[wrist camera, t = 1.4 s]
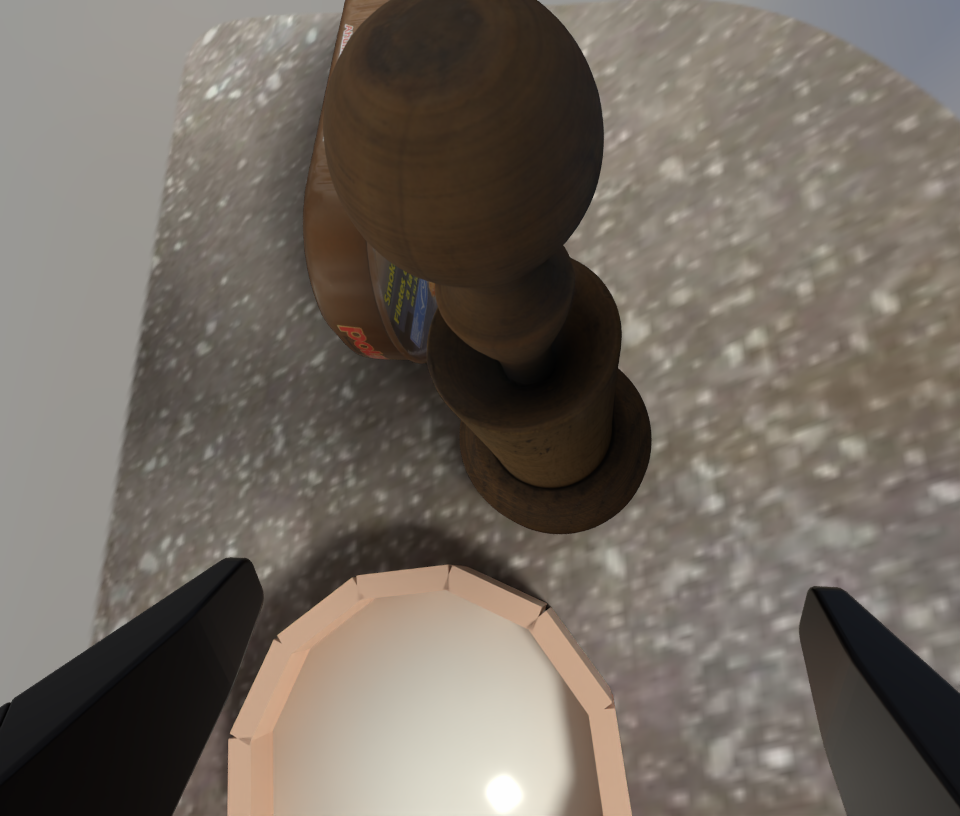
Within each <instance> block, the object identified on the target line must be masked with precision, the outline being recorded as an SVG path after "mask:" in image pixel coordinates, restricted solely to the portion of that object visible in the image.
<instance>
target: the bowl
mask: <svg viewBox="0 0 960 816" xmlns="http://www.w3.org/2000/svg"><path fill="white" fill-rule="evenodd" d="M546 606H547V603H545V602H543V601H541V600H538V599H536V598H534V597H532V596H530V595H528V594H526V593H523V592H521V591H519V590H517V589H515V588H513V587H510V586H508V585H506V584H504V583H502V582H500V581H497V580H495V579H493V578H491V577H489V576H487V575H485V574H482V573H480V572H478V571H476V570H474V569H472V568H469V567H467V566H462V565H440V566H432V567H423V568H415V569H407V570H398V571H390V572H382V573H373V574H365V575H357V577H352V578H351V579H349V580H348V581H347V582H345V583H344V584H343V585H342V586H340V587H339V588H338V589H336V590H335V591H334V592H333V593H331V594H330V595H329V596H327V597H326V598H325V599H323V600H322V601H321V602H320V603H318V604H317V605H316V606H314V607H313V608H312V609H311V610H309V611H308V612H307V613H305V614H304V615H303V616H301V617H300V618H299V619H298V620H296V621H295V622H294V623H292V624H291V625H290V626H289V627H287V628H286V629H285V630H283V631H282V632H281V633H279V634H278V635H277V636H278V639H274V640H273V642H272V645H271V647H270V649H269V651H268V653H267V655H266V657H265V659H264V662H263V664H262V666H261V668H260V670H259V672H258V674H257V676H256V679H255V681H254V683H253V685H252V687H251V689H250V691H249V694H248V696H247V698H246V700H245V702H244V704H243V706H242V708H241V711H240V713H239V715H238V717H237V719H236V721H235V723H234V725H233V728H232V730H231V732H230V734H232V735H233V736H234V737H232V738H230V739H228V816H632V813H631V806H630V800H629V793H628V787H627V781H626V774H625V768H624V762H623V755H622V749H621V743H620V736H619V730H618V724H617V717H616V711H615V705H614V698H613V694H611V689H610V687H609V686H608V684H607V683H606V682H605V680H604V679H603V678H602V676H601V675H600V673H599V672H598V671H597V669H596V668H595V666H594V665H593V664H592V662H591V661H590V660H589V658H588V657H587V655H586V654H585V653H584V651H583V650H582V649H581V647H580V646H579V644H578V643H577V642H576V640H575V639H574V638H573V636H572V635H571V633H570V632H569V631H568V629H567V628H566V627H565V625H564V624H563V622H562V621H561V620H560V618H559V617H558V616H557V614H556V613H555V611H554V610H553V609H552V607H550V608H549V609H548V610H545V608H546Z"/></svg>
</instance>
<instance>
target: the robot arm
mask: <svg viewBox="0 0 960 816" xmlns="http://www.w3.org/2000/svg"><path fill="white" fill-rule="evenodd" d="M263 600H264V594H263V589H262V586H261V584H260V581H259V579H258V576H257V574H256V571H255V568H254V566H253V564H252V562H251V561H250V560H249V559H247V558H233V557H229V558H225V559H223V560H221V561H220V562H218V563H217V564H215V565H213V566H212V567H210V568H209V569H207V570H206V571H204V572H203V573H201V574H200V575H198V576H197V577H195V578H194V579H192V580H191V581H189V582H188V583H186V584H185V585H183V586H182V587H180V588H179V589H177V590H176V591H174V592H173V593H171V594H170V595H168V596H167V597H165V598H164V599H162V600H161V601H159V602H158V603H156V604H155V605H153V606H152V607H150V608H149V609H147V610H146V611H144V612H143V613H141V614H140V615H138V616H137V617H135V618H134V619H132V620H131V621H129V622H128V623H126V624H125V625H123V626H122V627H120V628H119V629H117V630H116V631H114V632H113V633H111V634H110V635H108V636H107V637H105V638H104V639H102V640H101V641H99V642H98V643H96V644H95V645H93V646H92V647H90V648H89V649H87V650H86V651H84V652H83V653H81V654H80V655H78V656H77V657H75V658H74V659H72V660H71V661H69V662H68V663H66V664H65V665H63V666H62V667H60V668H59V669H57V670H56V671H54V672H53V673H51V674H50V675H48V676H47V677H45V678H44V679H42V680H41V681H39V682H38V683H36V684H35V685H33V686H32V687H30V688H29V689H27V690H26V691H24V692H23V693H21V694H20V695H18V696H17V697H15V698H14V699H13V700H12V702H11V703H10V702H9V703H6V704H4V705H3V706H1V707H0V816H172V815H173V813H174V811H175V809H176V807H177V805H178V803H179V801H180V798H181V796H182V794H183V792H184V790H185V788H186V786H187V784H188V781H189V779H190V777H191V775H192V773H193V771H194V769H195V767H196V765H197V762H198V760H199V758H200V756H201V754H202V752H203V750H204V748H205V746H206V743H207V741H208V739H209V737H210V735H211V733H212V731H213V729H214V726H215V724H216V722H217V720H218V718H219V716H220V714H221V712H222V710H223V707H224V705H225V703H226V701H227V699H228V696H229V694H230V692H231V690H232V687H233V685H234V682H235V680H236V677H237V675H238V672H239V669H240V666H241V664H242V661H243V658H244V655H245V653H246V650H247V647H248V644H249V641H250V639H251V636H252V633H253V630H254V627H255V625H256V622H257V619H258V616H259V614H260V611H261V608H262V605H263ZM799 635H800V642H801V646H802V651H803V656H804V660H805V665H806V669H807V674H808V678H809V683H810V687H811V692H812V696H813V701H814V705H815V710H816V714H817V719H818V724H819V728H820V732H821V736H822V740H823V744H824V748H825V751H826V754H827V757H828V761H829V764H830V767H831V770H832V773H833V776H834V779H835V781H836V784H837V787H838V790H839V793H840V796H841V799H842V802H843V805H844V808H845V811H846V814H847V816H960V693H959V692H958V691H957V690H956V689H954V688H953V687H952V686H951V685H950V684H949V683H948V682H947V681H946V680H944V679H943V678H942V677H941V676H940V675H939V674H938V673H937V672H935V671H934V670H933V669H932V668H931V667H930V666H929V665H928V664H927V663H925V662H924V661H923V660H922V659H921V658H920V657H919V656H918V655H916V654H915V653H914V652H913V651H912V650H911V649H910V648H909V647H908V646H906V645H905V644H904V643H903V642H902V641H901V640H900V639H899V638H897V637H896V636H895V635H894V634H893V633H892V632H891V631H890V630H889V629H887V628H886V627H885V626H884V625H883V624H882V623H881V622H880V621H878V620H877V619H876V618H875V617H874V616H873V615H872V614H871V613H870V612H868V611H867V610H866V609H865V608H864V607H863V606H862V605H861V604H859V603H858V602H857V601H856V600H855V599H854V598H853V597H852V596H851V595H849V594H848V593H847V592H846V591H845V590H843V589H841V588H838V587H820V586H814V587H811V588H810V589H809V590H808V592H807V596H806V600H805V604H804V608H803V612H802V616H801V620H800V625H799Z"/></svg>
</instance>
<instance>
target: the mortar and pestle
mask: <svg viewBox="0 0 960 816" xmlns="http://www.w3.org/2000/svg"><path fill="white" fill-rule="evenodd" d="M323 136H324V146H325V154H326V159H327V164H328V168H329V172H330V176H331V179H332V183H333V185H334V188H335V191H336V193H337V195H338V198H339V200H340V202H341V204H342V206H343V208H344V210H345V212H346V213H347V215H348V217H349V218H350V220H351V221H352V223H353V224H354V226H355V227H356V229H357V230H358V231H359V232H360V234H361V235H362V236H363V238H364V239H365V240H366V241H367V242H368V243H369V244H370V245H371V246H372V247H373V248H374V249H375V250H376V251H377V252H378V253H379V254H381V255H382V256H383V257H384V258H385V259H387V260H388V261H389V262H391V263H392V264H394V265H395V266H397V267H398V268H400V269H402V270H404V271H405V272H407V273H409V274H411V275H413V276H415V277H417V278H420V279H423V280H426V281H429V282H432V283H435V297H436V302H437V305H438V307H437V309H436V312H435V314H434V316H433V319H432V322H431V325H430V329H429V334H428V339H427V365H428V370H429V373H430V376H431V378H432V381H433V383H434V385H435V387H436V389H437V391H438V393H439V394H440V396H441V398H442V399H443V400H444V402H445V403H446V404H447V406H448V407H449V408H450V409H451V410H452V411H453V412H454V413H455V414H456V415H457V416H458V417H459V418H460V419H461V423H460V450H461V455H462V460H463V463H464V466H465V469H466V471H467V473H468V476H469V478H470V479H471V481H472V483H473V485H474V486H475V488H476V489H477V491H478V492H479V493H480V494H481V496H482V497H483V498H484V499H485V500H486V501H487V502H488V503H489V504H490V505H491V506H492V507H493V508H495V509H496V510H497V511H498V512H500V513H501V514H502V515H504V516H505V517H507V518H509V519H511V520H512V521H514V522H516V523H517V524H519V525H522V526H524V527H526V528H529V529H531V530H535V531H539V532H543V533H549V534H571V533H577V532H582V531H585V530H589V529H591V528H594V527H596V526H599V525H601V524H603V523H604V522H606V521H608V520H609V519H611V518H612V517H614V516H615V515H616V514H618V513H619V512H620V511H621V510H622V509H623V508H624V507H625V506H626V505H627V504H628V503H629V501H630V500H631V499H632V498H633V496H634V495H635V493H636V492H637V490H638V488H639V486H640V484H641V482H642V480H643V477H644V475H645V472H646V470H647V467H648V463H649V459H650V453H651V427H650V421H649V416H648V413H647V410H646V407H645V404H644V402H643V400H642V398H641V396H640V394H639V392H638V391H637V389H636V388H635V386H634V385H633V383H632V382H631V381H630V380H629V378H628V377H627V376H626V375H625V374H624V373H623V372H622V371H621V370H619V369H618V364H619V357H620V350H621V338H622V331H621V321H620V316H619V312H618V309H617V306H616V303H615V301H614V299H613V297H612V295H611V293H610V292H609V290H608V288H607V287H606V286H605V284H604V283H603V282H602V280H601V279H600V278H599V277H598V276H597V275H596V274H595V273H594V272H592V271H591V270H590V269H589V268H587V267H586V266H585V265H583V264H581V263H580V262H578V261H576V260H574V259H572V258H570V257H569V254H568V252H567V250H566V249H565V247H564V246H563V245H564V244H565V243H566V241H567V240H568V239H569V238H570V236H571V235H572V234H573V232H574V231H575V230H576V228H577V227H578V225H579V224H580V222H581V220H582V218H583V217H584V215H585V213H586V211H587V209H588V207H589V205H590V203H591V201H592V198H593V196H594V193H595V190H596V187H597V184H598V180H599V175H600V171H601V165H602V158H603V146H604V127H603V117H602V109H601V103H600V98H599V93H598V90H597V86H596V84H595V81H594V78H593V75H592V72H591V70H590V68H589V65H588V63H587V61H586V59H585V57H584V55H583V53H582V51H581V49H580V48H579V46H578V44H577V43H576V41H575V40H574V38H573V37H572V35H571V34H570V33H569V31H568V30H567V29H566V28H565V26H564V25H563V24H562V23H561V22H560V21H559V20H558V18H557V17H555V16H554V15H553V14H552V13H551V12H550V11H549V10H548V9H547V8H546V7H545V6H544V5H542V4H541V3H540V2H539V1H537V0H390V1H388V2H386V3H385V4H383V5H382V6H381V7H379V8H378V9H377V10H376V11H375V12H373V13H372V14H371V15H370V16H369V17H368V18H367V19H366V20H365V21H364V22H363V23H362V24H361V25H360V26H359V27H358V29H357V30H356V31H355V32H354V34H353V35H352V36H351V38H350V39H349V40H348V42H347V44H346V45H345V47H344V49H343V51H342V52H341V54H340V56H339V58H338V61H337V63H336V65H335V67H334V70H333V72H332V75H331V78H330V82H329V86H328V90H327V94H326V99H325V106H324V117H323Z"/></svg>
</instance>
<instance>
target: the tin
mask: <svg viewBox="0 0 960 816" xmlns="http://www.w3.org/2000/svg"><path fill="white" fill-rule="evenodd" d="M388 1H390V0H345V3H344V8H343V13H342V17H341V22H340V26H339V31H338V35H337V40H336V44H335V49H334V53H333V58H332V63H331V68H330V73H329V77H328V82H327V87H326V91H325V96H324V101H323V106H322V110H321V115H320V120H319V125H318V130H317V135H316V139H315V143H314V149H313V154H312V159H311V164H310V167H309V173H308V178H307V183H306V189H305V196H304V208H303V238H304V251H305V257H306V263H307V269H308V274H309V278H310V282H311V286H312V289H313V293H314V296H315V298H316V301H317V304H318V306H319V309H320V311H321V314H322V316H323V318H324V319H325V321H326V322H327V324H328V325H329V326H330V327H331V329H332V330H333V331H334V332H335V333H336V334H337V335H338V336H339V337H340V339H341V340H342V341H343V342H344V343H345V344H346V345H347V346H348V347H349V348H350V349H351V350H353V351H354V352H355V353H357V354H359V355H361V356H364V357H368V358H375V359H395V360H410V361H412V362H415V363H420V364H422V363H427V339H428V334H429V329H430V325H431V322H432V319H433V316H434V314H435V312H436V309H437V307H438V305H437V302H436V297H435V283H432V282H429V281H426V280H423V279H420V278H417V277H415V276H413V275H411V274H409V273H407V272H405V271H404V270H402V269H400V268H398V267H397V266H395V265H394V264H392V263H391V262H389V261H388V260H387V259H385V258H384V257H383V256H382V255H381V254H379V253H378V252H377V251H376V250H375V249H374V248H373V247H372V246H371V245H370V244H369V243H368V242H367V241H366V240H365V239H364V238H363V236H362V235H361V234H360V232H359V231H358V230H357V229H356V227H355V226H354V224H353V223H352V221H351V220H350V218H349V217H348V215H347V213H346V212H345V210H344V208H343V206H342V204H341V202H340V200H339V198H338V195H337V193H336V191H335V188H334V185H333V183H332V179H331V176H330V172H329V168H328V164H327V159H326V154H325V146H324V136H323V117H324V106H325V99H326V94H327V90H328V86H329V82H330V78H331V75H332V72H333V70H334V67H335V65H336V63H337V61H338V58H339V56H340V54H341V52H342V51H343V49H344V47H345V45H346V44H347V42H348V40H349V39H350V38H351V36H352V35H353V34H354V32H355V31H356V30H357V29H358V27H359V26H360V25H361V24H362V23H363V22H364V21H365V20H366V19H367V18H368V17H369V16H370V15H371V14H372V13H373V12H375V11H376V10H377V9H378V8H379V7H381V6H382V5H383V4H385V3H386V2H388Z"/></svg>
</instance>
